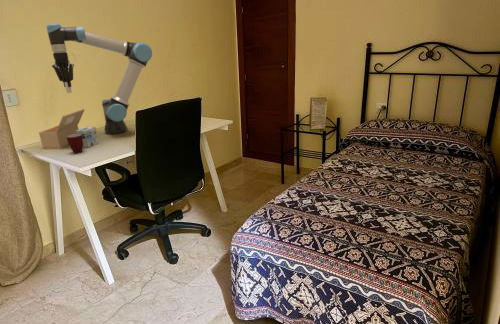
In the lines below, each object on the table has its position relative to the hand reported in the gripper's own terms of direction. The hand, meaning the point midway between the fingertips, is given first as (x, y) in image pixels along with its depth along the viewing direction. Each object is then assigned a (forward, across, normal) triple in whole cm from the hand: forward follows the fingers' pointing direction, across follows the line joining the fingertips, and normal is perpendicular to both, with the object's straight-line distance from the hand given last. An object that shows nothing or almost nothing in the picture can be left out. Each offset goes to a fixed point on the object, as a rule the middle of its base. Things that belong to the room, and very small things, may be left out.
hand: (69, 92), depth 210 cm
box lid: (+16, -2, -3) cm, 17 cm away
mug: (+32, +10, -19) cm, 38 cm away
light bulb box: (+32, +10, -7) cm, 34 cm away
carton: (+32, -11, -3) cm, 34 cm away
